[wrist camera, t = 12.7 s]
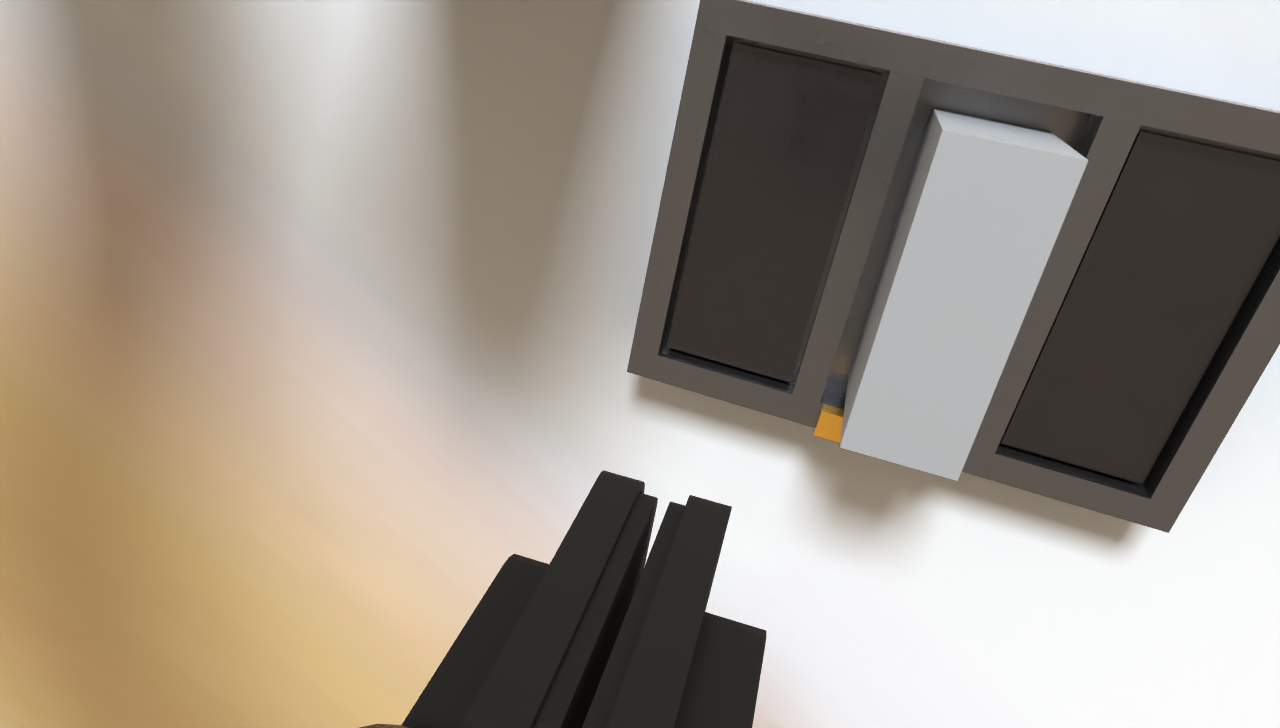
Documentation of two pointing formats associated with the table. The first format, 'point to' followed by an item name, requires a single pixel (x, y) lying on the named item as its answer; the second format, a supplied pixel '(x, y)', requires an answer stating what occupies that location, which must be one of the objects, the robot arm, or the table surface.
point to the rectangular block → (955, 287)
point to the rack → (865, 221)
